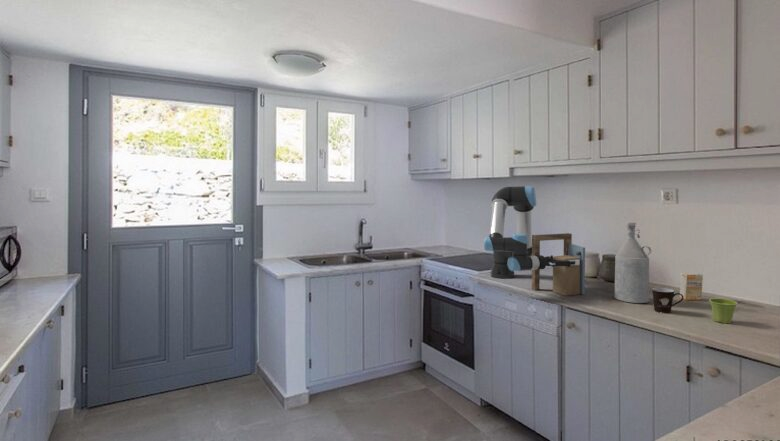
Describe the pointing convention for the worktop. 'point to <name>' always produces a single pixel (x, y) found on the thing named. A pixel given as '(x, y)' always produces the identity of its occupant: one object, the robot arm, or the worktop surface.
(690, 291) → the supplement box
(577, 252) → the door
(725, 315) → the plant pot
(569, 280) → the wooden block
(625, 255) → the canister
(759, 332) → the worktop surface
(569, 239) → the door frame
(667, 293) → the coffee mug
